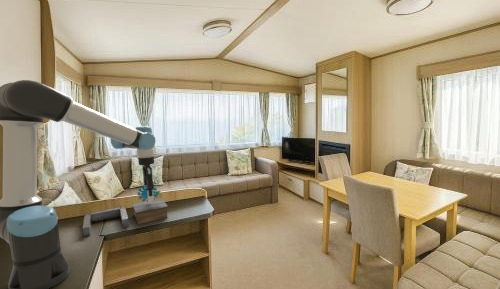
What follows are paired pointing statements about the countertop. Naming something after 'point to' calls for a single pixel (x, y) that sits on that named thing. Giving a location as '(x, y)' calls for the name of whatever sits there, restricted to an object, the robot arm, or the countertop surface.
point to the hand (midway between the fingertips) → (149, 199)
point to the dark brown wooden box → (150, 210)
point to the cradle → (104, 215)
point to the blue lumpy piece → (144, 193)
